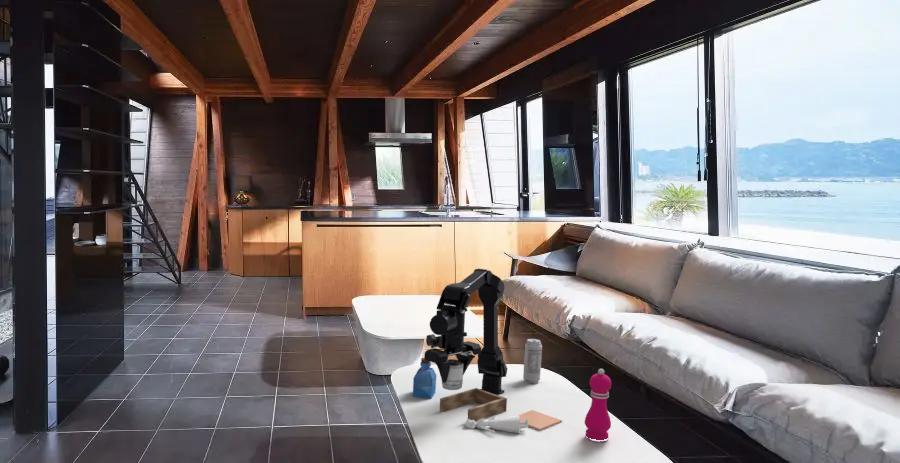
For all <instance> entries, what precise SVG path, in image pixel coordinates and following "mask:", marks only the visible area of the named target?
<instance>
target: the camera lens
mask: <svg viewBox="0 0 900 463" xmlns="http://www.w3.org/2000/svg"><path fill="white" fill-rule="evenodd" d="M448 361H450V362H451V366H450V370H449V374H448V378H447V381H446V383H443V382H442V381H441V385H442V386H441V387H442V389H445V390H448V391H458V390H461V389H462V387H463V382H464V380H463V379H464V375H463V363H462V362H461V361H459V360H458V359H450V358H448Z"/></svg>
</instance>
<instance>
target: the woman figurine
mask: <svg viewBox="0 0 900 463" xmlns="http://www.w3.org/2000/svg"><path fill="white" fill-rule="evenodd" d="M517 415H518V416H517ZM517 415H513V416H506V417H499V418H496V417H495V416H491V417H489V418H488V419H486V418H482V419H479V420H478V421H476V422H475V421H474V420H470V419H468V418H467V420H466V421H465V422H464V424H465V427H466V428H468V429H471V430H472V429H475V428H476V427H477V429H479V430H480V429H482V430H485V431H488V432H490V433H492V434H495V433H496V431H500V432H506V433H514V434H520V430H521V429H526V428H527V429H528V428H529V427H528V419H527V420H526V421H525V422H520V418H519V415H520V414H517ZM488 427H490V428H491V429H490V428H488ZM495 430H496V431H495Z"/></svg>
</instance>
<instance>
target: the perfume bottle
mask: <svg viewBox="0 0 900 463" xmlns="http://www.w3.org/2000/svg"><path fill="white" fill-rule="evenodd" d="M420 360H421V361H420V363H419V364H420V367H419V369H418V370H417V371H416V373H415V375H414V377H413V383H412V397H413V398H419V399H420V398H421V399H430V400H431V399H432V398H433V397H434V396H435V394H436V389H437V373H436V371H435V369H434V368H433V367H431V366H432V362H430V361H427V360H424V357H421V358H420Z"/></svg>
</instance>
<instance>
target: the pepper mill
mask: <svg viewBox="0 0 900 463" xmlns="http://www.w3.org/2000/svg"><path fill="white" fill-rule="evenodd" d="M589 386H590V388H591V390H590V396H591V404H590V407H589V409H588V411H587V413H586V415H585V417H584V418H585V419H584V425H585V427H586V430H585V437H586V436H587V437H588V438H591V439H596V440H604V439H607V438H608V439H609V432H608V431H609V430H610V429H611V427H612V425H611V424H612V421H611V417H610V414H609V411H608V408H607V407H608V406H607V405H608V404H607V402H608V398H609V397H610V395H609V394H610V393H609V391H610V390H611V388H612V380H611V378H610V377H609V376H608V375H607V374H605V370H604V369H603V368H599V369H598V370H597V373H595V374H592V376H591V377H590V379H589Z"/></svg>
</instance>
